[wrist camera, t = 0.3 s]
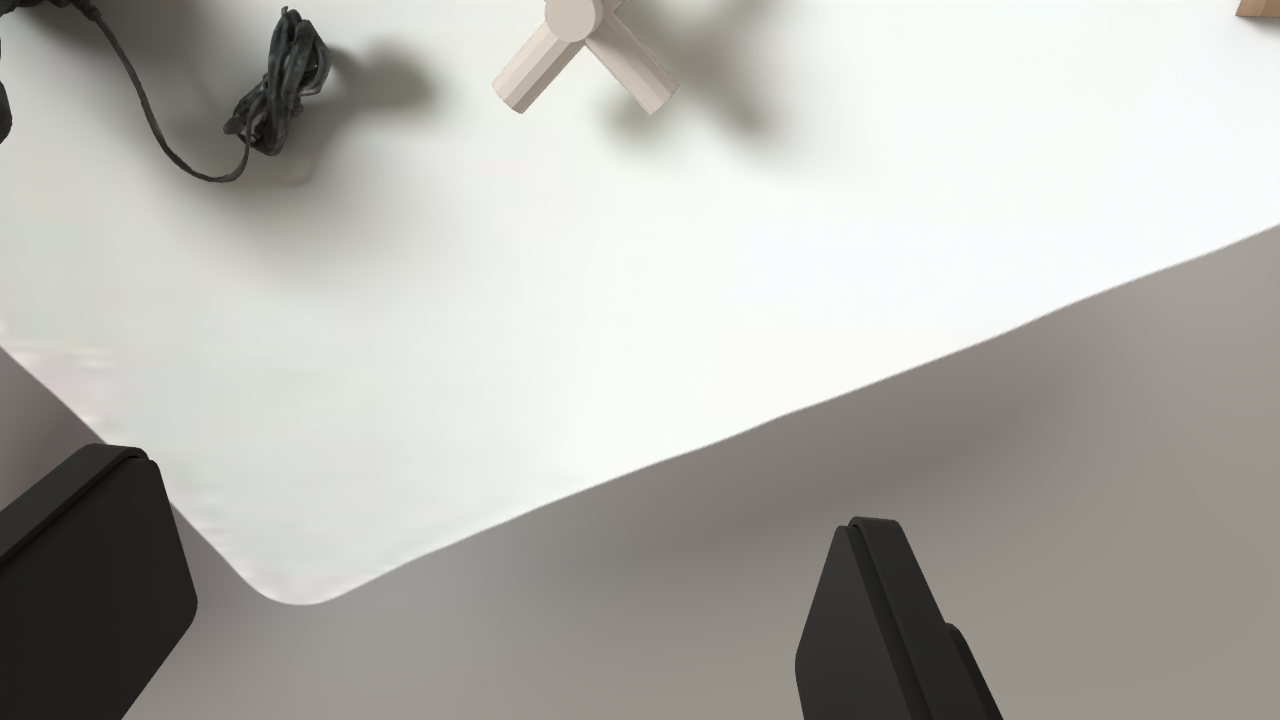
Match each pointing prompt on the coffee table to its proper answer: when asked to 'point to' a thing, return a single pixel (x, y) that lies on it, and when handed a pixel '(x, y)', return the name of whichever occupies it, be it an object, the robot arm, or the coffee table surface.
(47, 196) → the coffee table surface
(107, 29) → the headset
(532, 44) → the pipe connector
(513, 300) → the coffee table surface
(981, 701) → the robot arm
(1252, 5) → the rail stand
